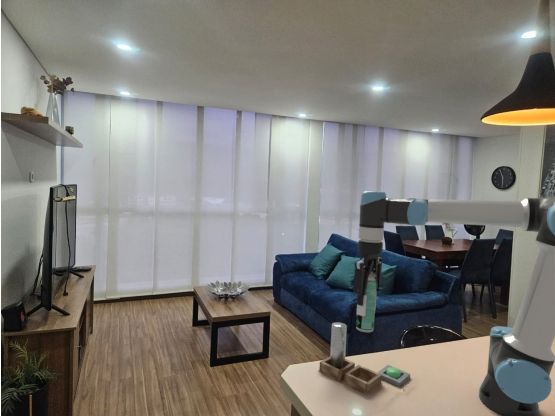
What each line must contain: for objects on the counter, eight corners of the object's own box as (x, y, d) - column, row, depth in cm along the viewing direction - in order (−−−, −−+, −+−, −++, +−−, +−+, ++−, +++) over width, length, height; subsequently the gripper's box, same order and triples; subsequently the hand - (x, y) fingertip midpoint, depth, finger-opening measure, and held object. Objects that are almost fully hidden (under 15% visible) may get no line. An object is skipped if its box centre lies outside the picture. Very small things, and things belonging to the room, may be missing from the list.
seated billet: (347, 371, 120) (349, 325, 119) (338, 376, 117) (341, 329, 116) (335, 365, 124) (337, 321, 123) (326, 370, 120) (328, 324, 119)
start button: (402, 379, 118) (402, 371, 118) (396, 384, 115) (396, 375, 114) (390, 374, 121) (390, 366, 121) (383, 379, 118) (384, 370, 118)
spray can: (372, 326, 115) (375, 265, 114) (375, 333, 109) (379, 269, 108) (355, 324, 115) (358, 264, 114) (357, 331, 110) (361, 268, 109)
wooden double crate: (383, 386, 114) (383, 374, 114) (367, 399, 107) (367, 386, 106) (334, 364, 127) (334, 353, 127) (317, 374, 120) (317, 362, 120)
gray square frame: (409, 381, 118) (410, 373, 118) (399, 390, 112) (399, 382, 112) (387, 371, 123) (387, 364, 123) (376, 380, 118) (376, 372, 118)
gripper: (374, 236, 120) (370, 303, 121) (343, 241, 106) (339, 316, 108) (395, 239, 114) (390, 309, 116) (366, 244, 101) (361, 323, 103)
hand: (366, 312), depth 112 cm, fingers closed on spray can, 5 cm apart
